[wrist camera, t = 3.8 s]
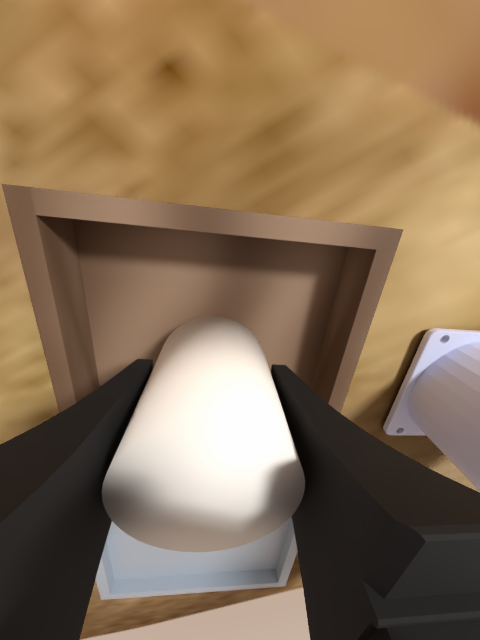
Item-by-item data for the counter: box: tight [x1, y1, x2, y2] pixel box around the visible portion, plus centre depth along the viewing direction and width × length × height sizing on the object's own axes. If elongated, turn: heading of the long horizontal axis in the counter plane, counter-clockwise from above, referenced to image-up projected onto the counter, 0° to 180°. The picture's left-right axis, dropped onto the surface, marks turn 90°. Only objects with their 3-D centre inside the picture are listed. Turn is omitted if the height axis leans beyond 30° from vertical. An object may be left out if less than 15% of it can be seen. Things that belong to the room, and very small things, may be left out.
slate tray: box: [96, 516, 298, 600], centre depth 18 cm, size 16×16×2 cm
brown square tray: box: [2, 184, 403, 413], centre depth 12 cm, size 14×14×2 cm
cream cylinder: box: [102, 316, 305, 552], centre depth 9 cm, size 5×5×6 cm
